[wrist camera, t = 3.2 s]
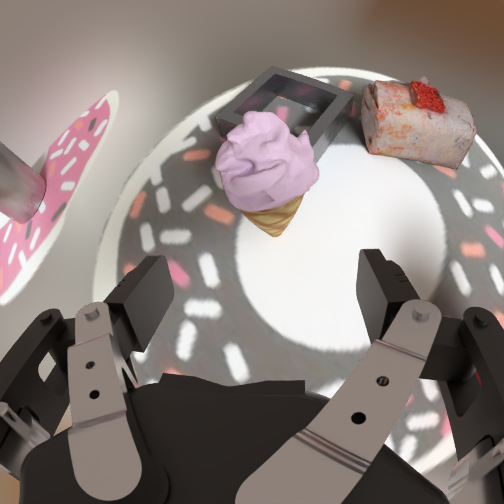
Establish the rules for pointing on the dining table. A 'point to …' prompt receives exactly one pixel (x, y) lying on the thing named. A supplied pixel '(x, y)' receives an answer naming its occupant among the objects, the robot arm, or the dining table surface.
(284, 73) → the hollow square frame
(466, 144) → the food item
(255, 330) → the dining table surface
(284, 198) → the ice cream cone
